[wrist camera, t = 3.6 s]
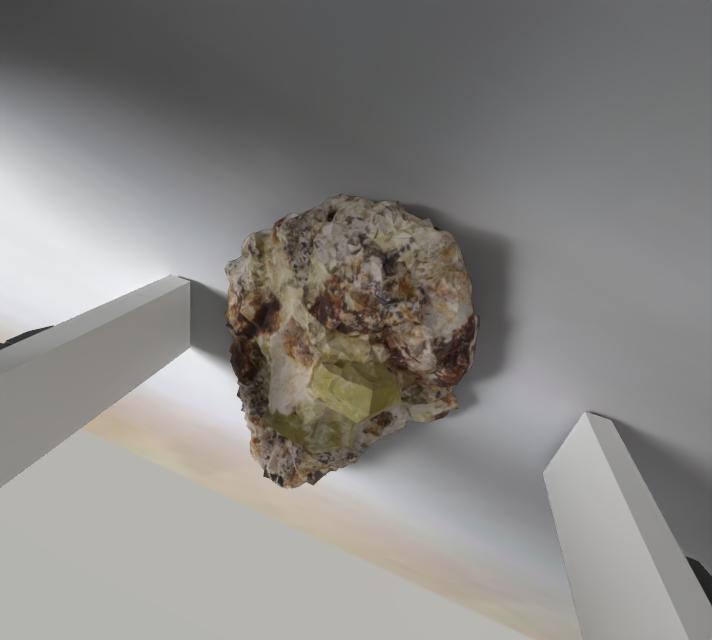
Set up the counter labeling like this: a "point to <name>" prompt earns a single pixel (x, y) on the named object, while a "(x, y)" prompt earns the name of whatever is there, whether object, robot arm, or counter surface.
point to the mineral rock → (345, 332)
